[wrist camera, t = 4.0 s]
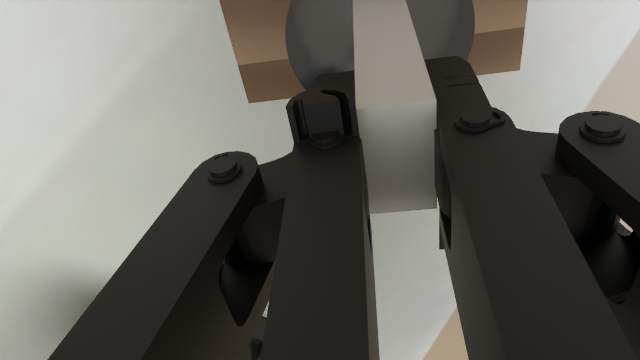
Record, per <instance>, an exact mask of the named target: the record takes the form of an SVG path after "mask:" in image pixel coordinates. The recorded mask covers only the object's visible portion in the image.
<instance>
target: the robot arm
mask: <svg viewBox="0 0 640 360" xmlns="http://www.w3.org/2000/svg"><path fill="white" fill-rule="evenodd" d="M353 30H354V66H355V70H351V71H344V72H336V73H328V74H320V75H318V77H317V78H316V79H315V80H314V81H313V82H312V83H311V84H310V89H308V90H306V91H303V92H301V93H299V94H297V95H296V96H294V97H293V98H292V99H290V100H289V102H288V104H287V105H286V110H287V114H288V119H289V123H290V127H291V132H292V136H293V140H294V146H293V151H292V152H291V153H289V154H287V155H286V156H284V157H282V158H279V159H277V160H274V161H271V162H268V163H265V164H261V165H258V163H257V161H256V158H255V157H254V156H252V155H251V154H249V153H245V152H240V151H236V152H225V153H221V154H218V155H215V156H213V157H211V158H209V159H208V160H206V161H204V162H203V163H201V164H200V165H199V166H198V167H197V168H196V169H195V170H194V171H193V173H192V174H191V175H190V177H189V178H188V179H187V181H186V182H185V183H184V184H183V186H182V187H181V188H180V190H179V191H178V192H177V193H176V195H175V196H174V197H173V199H172V200H171V201H170V202H169V204H168V205H167V206H166V208H165V209H164V210H163V211H162V213H161V214H160V215H159V217H158V218H157V219H156V221H155V222H154V223H153V224H152V226H151V227H150V228H149V230H148V231H147V232H146V233H145V235H144V236H143V237H142V239H141V240H140V241H139V242H138V244H137V245H136V246H135V248H134V249H133V250H132V251H131V253H130V254H129V255H128V257H127V258H126V259H125V261H124V262H123V263H122V264H121V266H120V267H119V268H118V270H117V271H116V272H115V273H114V275H113V276H112V277H111V279H110V280H109V281H108V282H107V284H106V285H105V286H104V288H103V289H102V290H101V291H100V293H99V294H98V295H97V297H96V298H95V299H94V301H93V302H92V303H91V304H90V306H89V307H88V308H87V310H86V311H85V312H84V313H83V315H82V316H81V317H80V319H79V320H78V321H77V322H76V324H75V325H74V326H73V328H72V329H71V330H70V331H69V333H68V334H67V335H66V337H65V338H64V339H63V341H62V342H61V343H60V344H59V346H58V347H57V348H56V350H55V351H54V352H53V353H52V355H51V356H50V357H49V359H48V360H379V345H378V328H377V312H376V296H375V280H374V264H373V248H372V231H371V223H370V215H369V214H373V213H385V212H397V211H409V210H421V209H433V208H437V197H438V202H439V206H440V219H439V249H445V252H446V257H447V261H448V266H449V271H450V275H451V280H452V284H453V289H454V294H455V298H456V303H457V307H458V312H459V316H460V321H461V326H462V330H463V335H464V339H465V344H466V349H467V353H468V357H469V360H640V124H639V123H638V122H636V121H634V120H632V119H629V118H627V117H625V116H622V115H618V114H614V113H611V112H605V111H601V112H600V111H590V112H583V113H577V114H574V115H572V116H569V117H567V118H566V119H565V120H564V121H563V122H562V123H561V124H560V127H559V133H558V134H555V133H542V132H532V131H525V130H521V129H517V128H516V127H515V125H514V123H513V121H512V120H511V118H510V117H509V116H508V115H507V114H506V113H505V112H503V111H501V110H499V109H496V108H494V107H491V105H490V103H489V101H488V99H487V97H486V95H485V93H484V91H483V89H482V87H481V85H480V84H479V81H478V79H477V77H476V75H475V72H474V70H473V68H472V66H471V64H470V63H469V62H467V61H465V60H464V59H462V58H460V57H459V56H450V57H442V58H434V59H426V60H424V58H423V55H422V52H421V49H420V45H419V42H418V39H417V36H416V32H415V29H414V26H413V23H412V19H411V16H410V13H409V10H408V6H407V3H406V0H353ZM620 218H621V219H622V220H623V221H624V222H625V223H626V224H628V225H629V226H630V227H631V228H632V229H633V232H630V231H629V230H627V229H626V228H625V227H624V226H623V225H622V224H621V223H619V221H620ZM269 299H270V300H269ZM268 301H269V306H268V313H267V319H264V318H261V317H262V315H263V313H264V310H265V308H266V306H267V304H268Z"/></svg>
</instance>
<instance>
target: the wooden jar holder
mask: <svg viewBox="0 0 640 360" xmlns="http://www.w3.org/2000/svg"><path fill="white" fill-rule="evenodd" d="M472 1H473V7H474V13H475V31H474V40H473V44H472V47H471V51H470V54H469V56H468V59H467V62H469V63H470V64H471V66H472V68H473V70H474V72H475V75H484V74H492V73H500V72H508V71H516V70H520V62H521V54H522V45H523V37H524V28H525V19H526V11H527V2H528V0H472ZM290 3H291V0H220V4H221V7H222V11H223V14H224V18H225V21H226V25H227V29H228V32H229V36H230V39H231V43H232V46H233V50H234V53H235V57H236V60H237V64H238V67H239V71H240V74H241V78H242V81H243V85H244V88H245V92H246V95H247V99H248V102H249V103H254V102H263V101H271V100H279V99H287V98H293V97H294V96H296V95H297V94H299V93H301V92H303V91H306V90H305V89H304V87H303V86H302V85H301V84H300V82H299V80H298V79H297V77H296V75H295V74H294V71H293V69H292V67H291V64H290V61H289V58H288V54H287V49H286V42H285V27H286V19H287V14H288V10H289V6H290Z"/></svg>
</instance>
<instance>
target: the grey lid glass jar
mask: <svg viewBox="0 0 640 360" xmlns="http://www.w3.org/2000/svg"><path fill="white" fill-rule="evenodd" d="M406 3H407V6H408V10H409V13H410V16H411V19H412V23H413V26H414V29H415V32H416V36H417V39H418V42H419V45H420V49H421V52H422V55H423V58H424V60H426V59H434V58H442V57H450V56H459V57H460V58H462V59H464V60H465V61H467V59H468V56H469V54H470V51H471V47H472V44H473V40H474V31H475V13H474V7H473V1H472V0H406ZM285 42H286V49H287V54H288V58H289V61H290V64H291V67H292V69H293V71H294V74H295V75H296V77H297V79H298V80H299V82H300V84H301V85H302V86H303V87H304V89H305V90H308V89H310V84H311V83H312V82H313V81H314V80H315V79H316V78H317V77H318V75H320V74H328V73H336V72H344V71H351V70H355V66H354V30H353V0H291V3H290V6H289V10H288V14H287V19H286V27H285Z"/></svg>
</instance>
